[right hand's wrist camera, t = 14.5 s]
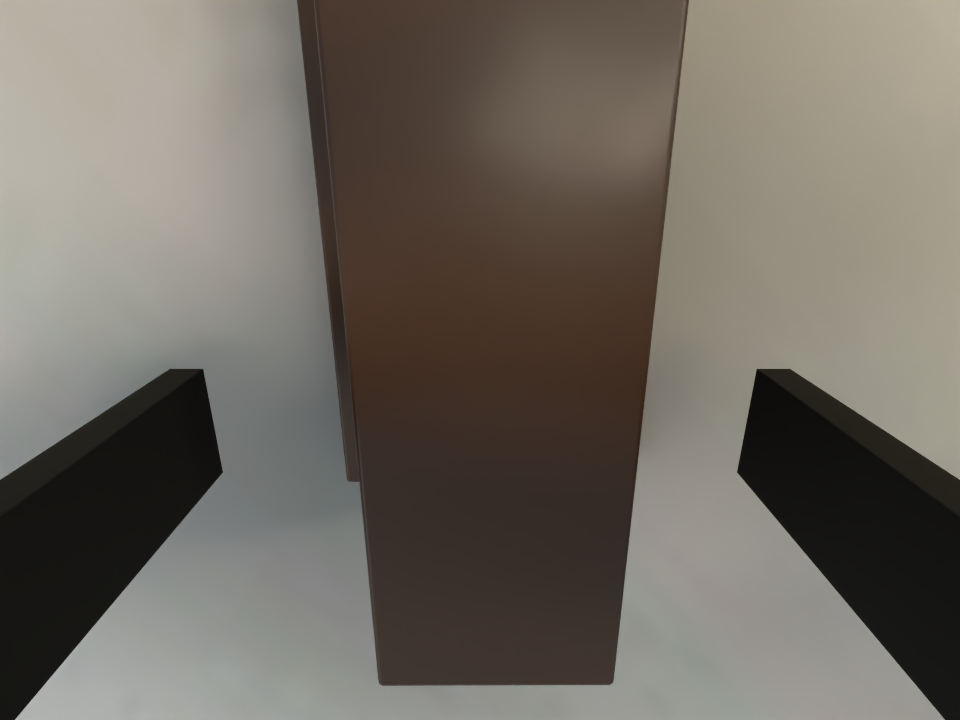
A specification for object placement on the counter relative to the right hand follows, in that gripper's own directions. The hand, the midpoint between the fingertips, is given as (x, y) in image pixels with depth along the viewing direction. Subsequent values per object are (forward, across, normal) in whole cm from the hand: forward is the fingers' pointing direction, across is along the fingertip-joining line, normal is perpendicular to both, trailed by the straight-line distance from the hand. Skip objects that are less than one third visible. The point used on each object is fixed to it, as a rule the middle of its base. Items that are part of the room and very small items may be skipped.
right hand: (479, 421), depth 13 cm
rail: (+4, 0, -12) cm, 13 cm away
